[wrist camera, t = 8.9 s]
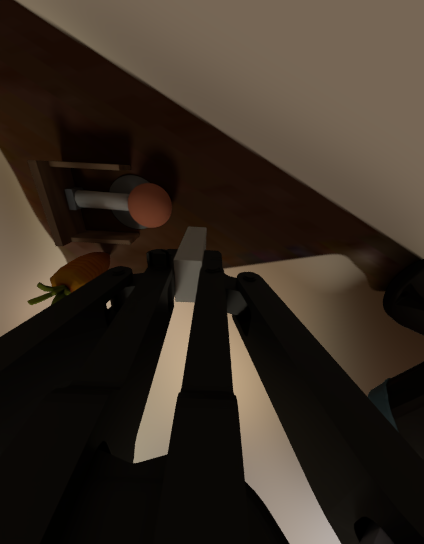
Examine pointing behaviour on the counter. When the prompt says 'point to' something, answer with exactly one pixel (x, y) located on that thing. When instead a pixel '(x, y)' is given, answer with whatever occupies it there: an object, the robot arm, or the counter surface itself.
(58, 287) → the carrot
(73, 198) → the pin
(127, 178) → the pin disc
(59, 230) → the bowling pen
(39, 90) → the counter surface
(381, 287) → the counter surface
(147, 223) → the ball
